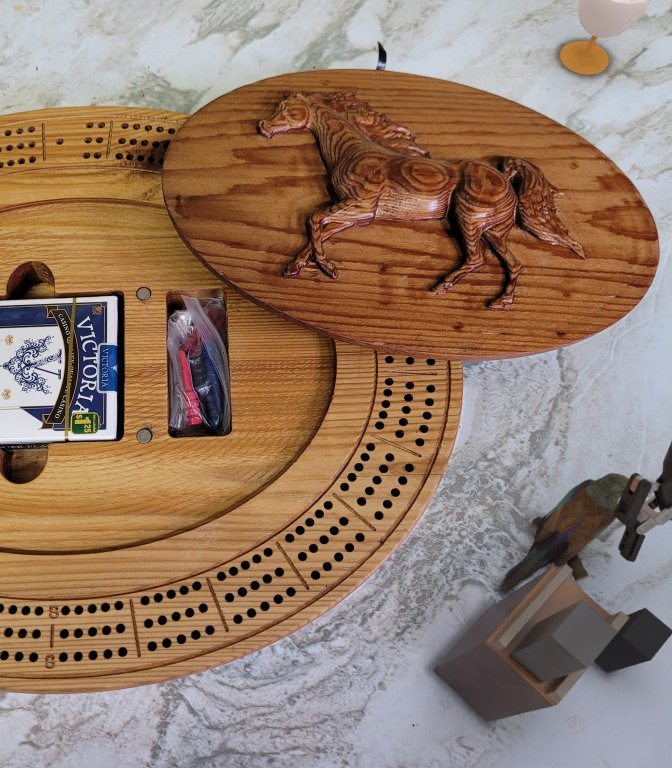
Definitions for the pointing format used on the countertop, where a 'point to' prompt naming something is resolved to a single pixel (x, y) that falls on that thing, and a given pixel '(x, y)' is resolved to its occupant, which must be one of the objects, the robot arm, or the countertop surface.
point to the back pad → (634, 642)
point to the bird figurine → (570, 528)
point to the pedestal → (490, 667)
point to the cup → (600, 32)
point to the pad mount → (554, 634)
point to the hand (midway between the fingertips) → (660, 564)
